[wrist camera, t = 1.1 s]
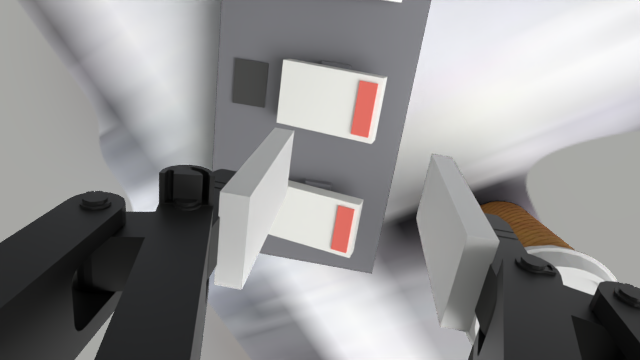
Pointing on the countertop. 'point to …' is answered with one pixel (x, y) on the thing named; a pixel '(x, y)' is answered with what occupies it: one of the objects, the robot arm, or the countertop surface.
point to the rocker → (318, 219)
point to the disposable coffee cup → (548, 252)
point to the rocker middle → (330, 100)
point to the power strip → (310, 146)
